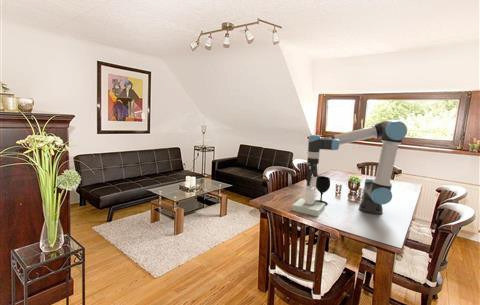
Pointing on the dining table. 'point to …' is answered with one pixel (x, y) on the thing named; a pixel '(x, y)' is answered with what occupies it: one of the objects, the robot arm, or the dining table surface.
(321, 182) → the wine glass
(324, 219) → the dining table surface
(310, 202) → the plug
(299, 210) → the socket plate
